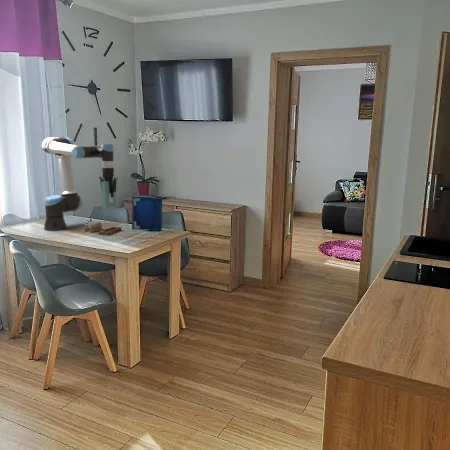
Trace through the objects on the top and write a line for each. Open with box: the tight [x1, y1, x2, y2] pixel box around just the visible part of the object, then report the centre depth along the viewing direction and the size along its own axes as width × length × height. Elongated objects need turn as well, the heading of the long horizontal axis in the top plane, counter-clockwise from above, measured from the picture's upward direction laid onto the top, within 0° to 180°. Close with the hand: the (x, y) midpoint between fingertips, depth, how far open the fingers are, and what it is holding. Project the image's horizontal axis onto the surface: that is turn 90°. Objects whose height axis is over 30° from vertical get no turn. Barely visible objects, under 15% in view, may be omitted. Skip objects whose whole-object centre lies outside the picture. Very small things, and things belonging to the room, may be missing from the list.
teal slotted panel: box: [100, 181, 117, 210], centre depth 301 cm, size 2×12×18 cm, turn 159°
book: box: [131, 194, 163, 232], centre depth 318 cm, size 22×7×25 cm, turn 84°
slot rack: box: [95, 226, 126, 237], centre depth 306 cm, size 12×19×3 cm, turn 159°
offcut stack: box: [83, 221, 104, 233], centre depth 310 cm, size 6×13×6 cm, turn 159°
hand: (109, 201), depth 302 cm, fingers closed on teal slotted panel, 2 cm apart
